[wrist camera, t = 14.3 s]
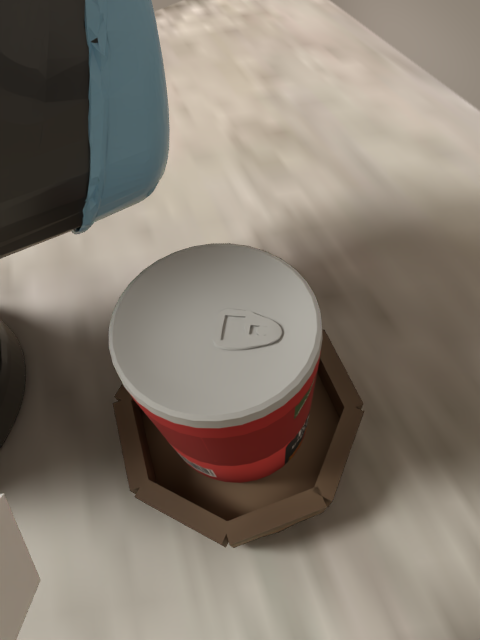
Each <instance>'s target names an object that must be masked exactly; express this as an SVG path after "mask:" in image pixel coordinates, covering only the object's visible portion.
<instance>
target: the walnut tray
mask: <svg viewBox="0 0 480 640" xmlns="http://www.w3.org/2000/svg"><path fill="white" fill-rule="evenodd" d="M322 337H323V339H322V345H321V354H320V360H319V365H318V371H317V376H316V381H315V387H314V392H313V397H312V402H311V407H310V413H309V418H308V423H307V428H306V434H305V436H304V438H303V441H302V443H301V446H300V447H299V449H298V450H297V452H296V453H295V455H294V456H293V457H292V458H291V459H290V460H289V461H288V462H287V463H286V464H285V465H284V466H283V467H282V468H280V469H279V470H277V471H276V472H274V473H272V474H271V475H269V476H266V477H263V478H261V479H258V480H255V481H249V482H242V483H235V482H223V481H219V480H215V479H211V478H209V477H207V476H205V475H203V474H201V473H199V472H197V471H196V470H195V469H193V468H192V467H191V466H189V465H188V464H187V463H186V462H185V461H184V460H183V458H182V457H181V456H180V455H179V454H178V453H177V451H176V450H175V449H174V448H173V447H172V445H171V444H170V443H169V442H168V441H167V439H166V438H165V437H164V436H163V434H162V433H161V432H160V431H159V430H158V428H157V427H156V426H155V425H154V424H153V422H152V421H151V420H150V419H149V418H148V416H147V415H146V414H145V413H144V411H143V410H142V409H141V408H140V407H139V405H138V404H137V403H136V402H135V401H134V399H133V398H132V396H131V395H130V393H129V392H128V391H127V390H126V388H125V387H124V385H123V384H122V385H121V387H120V388H119V390H118V392H117V393H116V395H115V396H114V397H115V398H116V399H117V400H118V402H115V403H113V407H114V412H115V417H116V422H117V427H118V432H119V437H120V442H121V448H122V453H123V458H124V463H125V468H126V473H127V478H128V483H129V488H130V491H131V492H133V493H135V494H136V495H135V497H136V498H137V499H139V500H141V501H143V502H144V503H146V504H148V505H150V506H151V507H153V508H155V509H157V510H159V511H161V512H162V513H164V514H166V515H168V516H170V517H171V518H173V519H175V520H177V521H179V522H181V523H182V524H184V525H186V526H188V527H190V528H191V529H193V530H195V531H197V532H199V533H201V534H202V535H204V536H206V537H208V538H210V539H211V540H213V541H215V542H217V543H219V544H221V545H222V546H224V547H226V546H227V544H228V542H229V544H230V546H232V547H233V548H235V547H237V546H240V545H242V544H245V543H247V542H250V541H252V540H255V539H257V538H260V537H264V536H267V535H270V534H274V533H277V532H280V531H282V530H284V529H286V528H288V527H290V526H292V525H294V524H295V523H298V522H300V521H303V520H305V519H308V518H310V517H313V516H315V515H318V514H321V513H323V512H324V510H325V509H326V507H329V505H330V504H331V502H332V501H333V498H334V495H335V492H336V489H337V486H338V484H339V481H340V478H341V475H342V472H343V470H344V467H345V464H346V461H347V458H348V455H349V453H350V450H351V447H352V444H353V441H354V438H355V436H356V433H357V430H358V427H359V424H360V421H361V419H362V416H363V413H364V411H362V410H361V408H362V406H363V402H362V400H361V398H360V396H359V395H358V393H357V391H356V389H355V387H354V385H353V383H352V381H351V379H350V377H349V376H348V374H347V372H346V370H345V368H344V366H343V364H342V362H341V360H340V358H339V356H338V355H337V353H336V351H335V349H334V347H333V345H332V343H331V341H330V339H329V337H328V336H327V334H326V332H325V330H322Z"/></svg>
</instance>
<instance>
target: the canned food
mask: <svg viewBox="0 0 480 640" xmlns="http://www.w3.org/2000/svg"><path fill="white" fill-rule="evenodd" d="M322 339H323V337H322V321H321V312H320V309H319V306H318V302H317V299H316V296H315V295H314V293H313V291H312V290H311V288H310V286H309V284H308V283H307V281H306V280H305V279H304V278H303V277H302V276H301V275H300V274H299V273H298V272H297V271H296V269H294V268H293V267H292V266H290V265H289V264H287V263H286V262H285V261H283V260H282V259H280V258H278V257H276V256H274V255H272V254H270V253H268V252H266V251H263V250H260V249H256V248H253V247H250V246H244V245H237V244H230V243H229V244H206V245H200V246H193V247H190V248H187V249H183V250H180V251H177V252H174V253H172V254H170V255H168V256H166V257H164V258H162V259H159V260H158V261H156V262H155V263H153V264H152V265H150V266H149V267H147V268H146V269H145V270H143V271H142V272H141V273H140V274H139V275H138V276H137V277H136V278H135V279H134V280H133V281H132V282H131V283H130V284H129V285H128V287H127V288H126V289H125V291H124V292H123V293H122V295H121V296H120V298H119V300H118V302H117V304H116V306H115V309H114V311H113V313H112V317H111V322H110V326H109V350H110V354H111V358H112V362H113V365H114V367H115V369H116V372H117V374H118V376H119V377H120V379H121V381H122V383H123V385H124V387H125V388H126V390H127V391H128V392H129V393H130V395H131V396H132V398H133V399H134V401H135V402H136V403H137V404H138V405H139V407H140V408H141V409H142V410H143V411H144V413H145V414H146V415H147V416H148V418H149V419H150V420H151V421H152V422H153V424H154V425H155V426H156V427H157V428H158V430H159V431H160V432H161V433H162V434H163V436H164V437H165V438H166V439H167V441H168V442H169V443H170V444H171V445H172V447H173V448H174V449H175V450H176V451H177V453H178V454H179V455H180V456H181V457H182V458H183V460H184V461H185V462H186V463H187V464H188V465H189V466H191V467H192V468H193V469H195V470H196V471H197V472H199V473H201V474H203V475H205V476H207V477H209V478H211V479H215V480H219V481H223V482H235V483H242V482H249V481H255V480H258V479H261V478H263V477H266V476H269V475H271V474H272V473H274V472H276V471H277V470H279V469H280V468H282V467H283V466H284V465H285V464H286V463H287V462H288V461H289V460H290V459H291V458H292V457H293V456H294V455H295V453H296V452H297V450H298V449H299V447H300V446H301V443H302V441H303V438H304V436H305V434H306V428H307V423H308V418H309V413H310V407H311V402H312V397H313V392H314V387H315V381H316V376H317V371H318V365H319V360H320V354H321V345H322Z"/></svg>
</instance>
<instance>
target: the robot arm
mask: <svg viewBox="0 0 480 640" xmlns="http://www.w3.org/2000/svg"><path fill="white" fill-rule="evenodd" d="M168 151H169V109H168V97H167V88H166V80H165V72H164V65H163V59H162V53H161V47H160V41H159V36H158V30H157V24H156V19H155V14H154V10H153V5H152V1H151V0H0V259H1V258H3V257H6V256H8V255H11V254H13V253H16V252H18V251H21V250H24V249H26V248H29V247H31V246H34V245H36V244H39V243H41V242H44V241H47V240H49V239H52V238H54V237H57V236H59V235H62V234H64V233H67V232H69V231H72V233H74V234H80V233H83V232H85V231H86V230H88V229H89V228H90V227H91V226H92V225H93V223H94V222H96V221H98V220H100V219H103V218H105V217H107V216H109V215H112V214H114V213H116V212H118V211H121V210H123V209H125V208H127V207H130V206H132V205H134V204H136V203H139V202H140V201H142V200H144V199H145V198H147V197H148V196H149V195H150V194H151V193H152V192H153V191H154V189H155V187H156V186H157V184H158V182H159V180H160V179H161V177H162V175H163V174H164V171H165V167H166V164H167V159H168ZM24 388H25V361H24V356H23V352H22V349H21V346H20V344H19V342H18V340H17V338H16V336H15V335H14V333H13V332H12V331H11V330H10V328H9V327H8V326H7V325H6V324H5V323H3V322H2V321H1V320H0V447H1V445H2V444H3V442H4V440H5V439H6V437H7V435H8V434H9V432H10V430H11V428H12V426H13V424H14V421H15V419H16V417H17V414H18V411H19V409H20V405H21V402H22V398H23V394H24ZM39 582H40V577H39V575H38V573H37V570H36V568H35V566H34V563H33V561H32V558H31V556H30V554H29V551H28V549H27V547H26V544H25V542H24V540H23V537H22V535H21V532H20V530H19V528H18V525H17V523H16V521H15V518H14V516H13V513H12V511H11V509H10V506H9V504H8V502H7V499H6V497H5V495H4V493H3V494H0V640H16V639H17V636H18V634H19V631H20V629H21V627H22V624H23V622H24V619H25V617H26V614H27V612H28V609H29V607H30V604H31V602H32V600H33V597H34V595H35V592H36V590H37V587H38V585H39Z"/></svg>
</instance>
